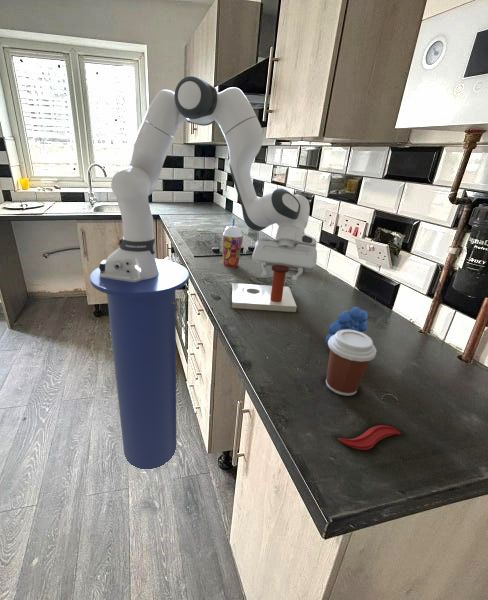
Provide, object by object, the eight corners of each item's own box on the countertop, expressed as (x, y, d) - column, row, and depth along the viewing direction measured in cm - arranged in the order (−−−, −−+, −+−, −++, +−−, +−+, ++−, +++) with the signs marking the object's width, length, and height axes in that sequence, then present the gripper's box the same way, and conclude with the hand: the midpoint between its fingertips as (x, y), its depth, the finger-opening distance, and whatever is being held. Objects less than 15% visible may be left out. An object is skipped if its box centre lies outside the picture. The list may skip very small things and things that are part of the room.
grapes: (348, 338, 87) (359, 298, 82) (367, 351, 82) (379, 309, 76) (312, 344, 84) (321, 303, 79) (329, 359, 78) (340, 315, 73)
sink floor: (231, 307, 101) (232, 302, 100) (232, 288, 116) (232, 283, 115) (295, 312, 100) (296, 306, 99) (288, 291, 115) (289, 286, 114)
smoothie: (227, 261, 144) (230, 215, 135) (243, 265, 139) (247, 218, 131) (217, 265, 137) (219, 218, 129) (234, 270, 133) (237, 221, 125)
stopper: (268, 302, 101) (272, 269, 96) (267, 295, 106) (271, 264, 101) (285, 303, 101) (290, 270, 96) (283, 296, 106) (287, 265, 101)
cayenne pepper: (343, 450, 54) (345, 441, 53) (332, 428, 58) (334, 420, 57) (411, 448, 55) (415, 440, 54) (395, 427, 59) (398, 419, 58)
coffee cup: (310, 377, 71) (320, 330, 66) (341, 368, 75) (353, 323, 70) (341, 405, 64) (355, 355, 59) (373, 393, 67) (389, 345, 62)
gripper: (256, 231, 105) (245, 269, 101) (321, 240, 99) (312, 280, 94) (258, 242, 111) (248, 277, 107) (320, 250, 104) (311, 288, 100)
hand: (278, 279), depth 101 cm, fingers open, 8 cm apart
